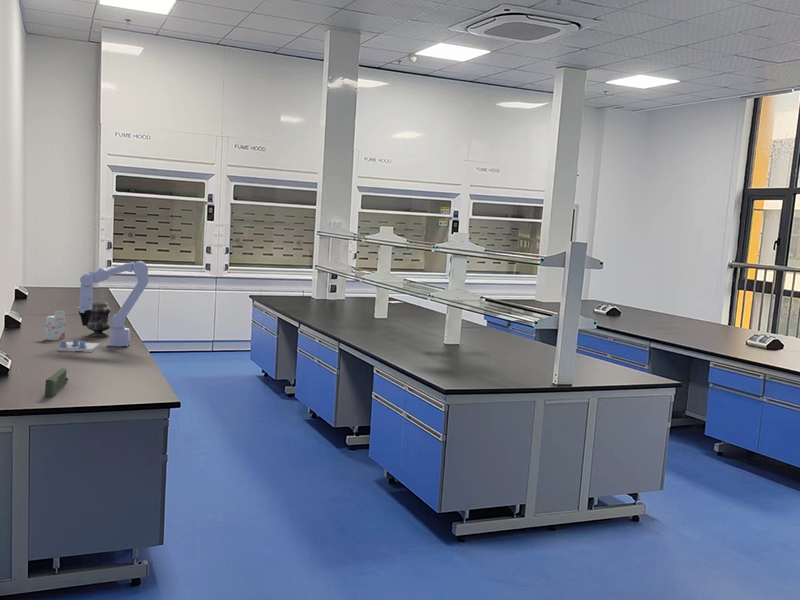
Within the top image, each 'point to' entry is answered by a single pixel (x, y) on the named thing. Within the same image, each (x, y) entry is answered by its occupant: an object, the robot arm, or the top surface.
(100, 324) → the dark grey stone urn
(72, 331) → the top surface
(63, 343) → the switch tab
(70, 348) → the switch board
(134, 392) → the top surface
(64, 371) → the handheld radio
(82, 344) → the switch tab
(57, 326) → the ink cartridge box
